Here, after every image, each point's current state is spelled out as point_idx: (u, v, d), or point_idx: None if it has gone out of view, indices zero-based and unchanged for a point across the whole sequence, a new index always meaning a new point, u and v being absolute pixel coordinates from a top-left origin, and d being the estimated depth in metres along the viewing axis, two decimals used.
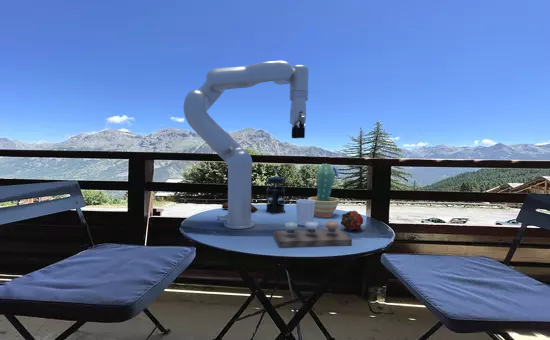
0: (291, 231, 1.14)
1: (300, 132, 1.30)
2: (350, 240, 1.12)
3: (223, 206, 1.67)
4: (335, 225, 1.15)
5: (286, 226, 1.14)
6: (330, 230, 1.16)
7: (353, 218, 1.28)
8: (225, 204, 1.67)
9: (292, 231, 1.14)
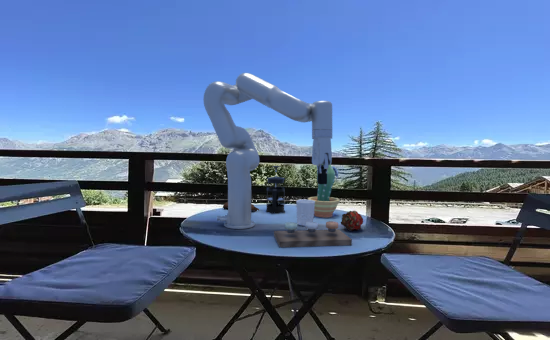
0: (291, 231, 1.14)
1: (322, 178, 1.21)
2: (350, 240, 1.12)
3: (224, 206, 1.68)
4: (335, 225, 1.15)
5: (286, 226, 1.14)
6: (330, 230, 1.16)
7: (353, 218, 1.28)
8: (226, 204, 1.68)
9: (292, 231, 1.14)
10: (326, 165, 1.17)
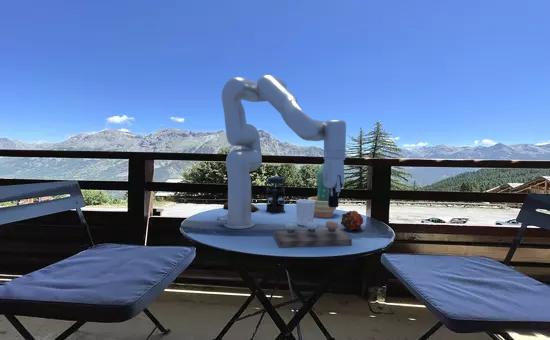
0: (291, 231, 1.14)
1: (333, 201, 1.15)
2: (350, 240, 1.12)
3: (224, 205, 1.68)
4: (335, 225, 1.15)
5: (286, 226, 1.14)
6: (330, 230, 1.16)
7: (353, 218, 1.28)
8: (226, 203, 1.68)
9: (292, 231, 1.14)
10: (338, 188, 1.11)
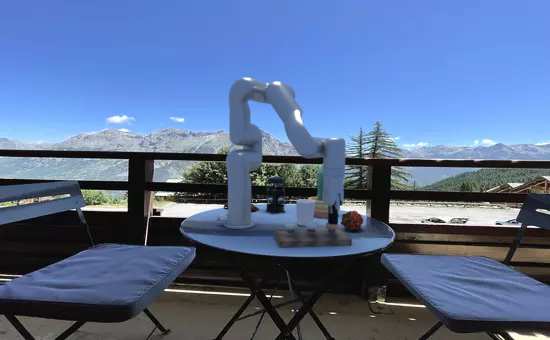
0: (291, 231, 1.14)
1: (333, 218, 1.15)
2: (350, 240, 1.12)
3: (225, 205, 1.69)
4: (335, 226, 1.15)
5: (286, 226, 1.14)
6: (330, 231, 1.16)
7: (353, 218, 1.28)
8: (227, 203, 1.69)
9: (292, 231, 1.14)
10: (337, 206, 1.11)
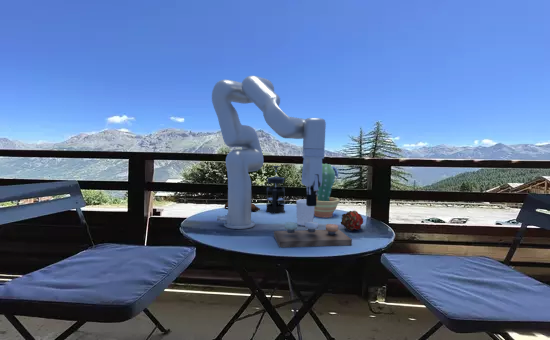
0: (291, 231, 1.14)
1: (311, 200, 1.14)
2: (350, 240, 1.12)
3: (226, 205, 1.69)
4: (335, 228, 1.15)
5: (286, 226, 1.14)
6: (330, 233, 1.16)
7: (353, 218, 1.28)
8: None
9: (292, 231, 1.14)
10: (316, 187, 1.10)
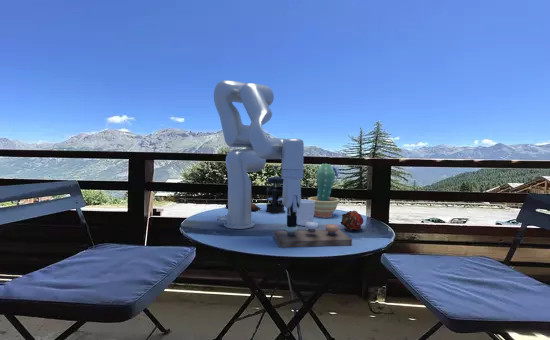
0: (291, 234, 1.14)
1: (291, 221, 1.13)
2: (350, 240, 1.12)
3: (227, 205, 1.70)
4: (335, 228, 1.15)
5: (286, 229, 1.14)
6: (330, 233, 1.16)
7: (353, 218, 1.28)
8: None
9: (292, 234, 1.14)
10: (294, 208, 1.09)
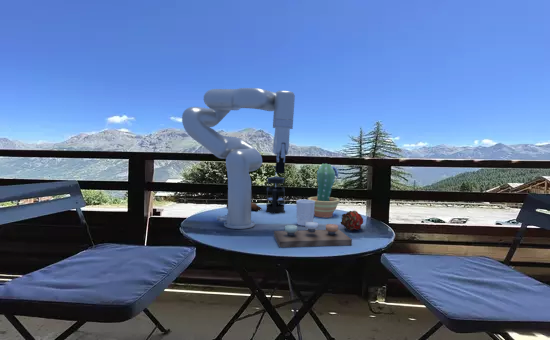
0: (291, 234, 1.14)
1: (279, 167, 1.23)
2: (350, 240, 1.12)
3: (227, 205, 1.71)
4: (335, 228, 1.15)
5: (286, 229, 1.14)
6: (330, 233, 1.16)
7: (353, 218, 1.28)
8: None
9: (292, 234, 1.14)
10: (282, 154, 1.19)
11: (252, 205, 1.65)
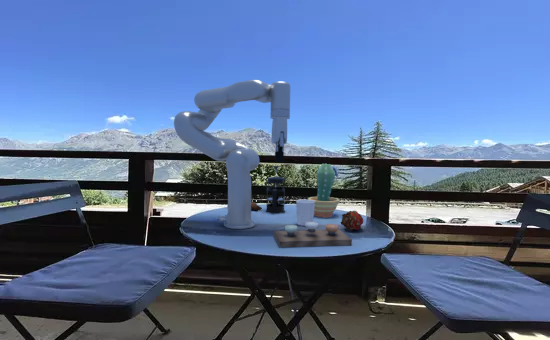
0: (291, 234, 1.14)
1: (279, 156, 1.26)
2: (350, 240, 1.12)
3: None
4: (335, 228, 1.15)
5: (286, 229, 1.14)
6: (330, 233, 1.16)
7: (353, 218, 1.28)
8: None
9: (292, 234, 1.14)
10: (281, 143, 1.22)
11: (252, 205, 1.66)
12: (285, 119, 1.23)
